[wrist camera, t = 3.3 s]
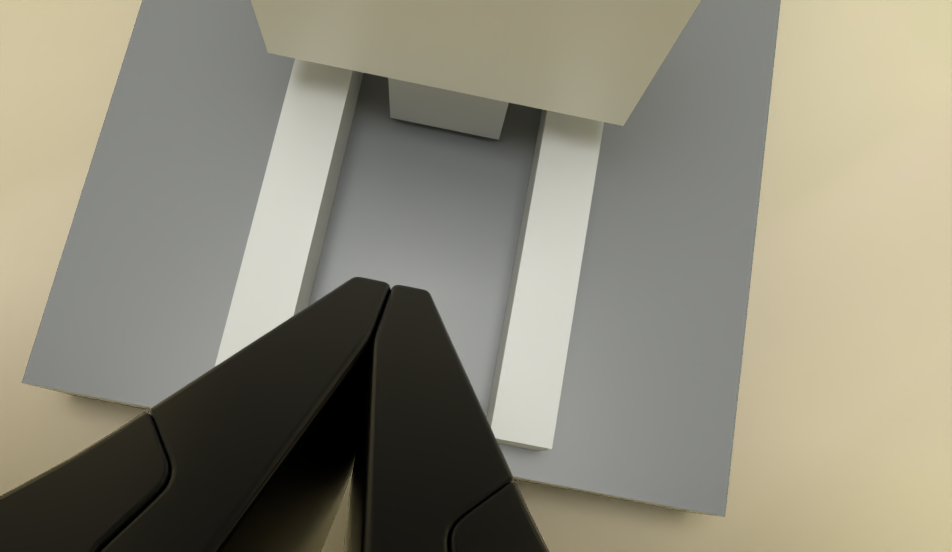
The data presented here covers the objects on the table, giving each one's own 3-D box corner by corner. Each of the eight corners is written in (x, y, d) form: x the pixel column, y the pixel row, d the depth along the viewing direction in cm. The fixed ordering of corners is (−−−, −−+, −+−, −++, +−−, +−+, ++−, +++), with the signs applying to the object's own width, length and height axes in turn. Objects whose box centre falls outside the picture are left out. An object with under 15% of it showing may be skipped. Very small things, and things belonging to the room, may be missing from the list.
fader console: (686, 512, 16) (752, 520, 13) (69, 394, 16) (-14, 374, 13) (767, -172, 20) (833, -290, 17) (272, -280, 20) (246, -421, 17)
